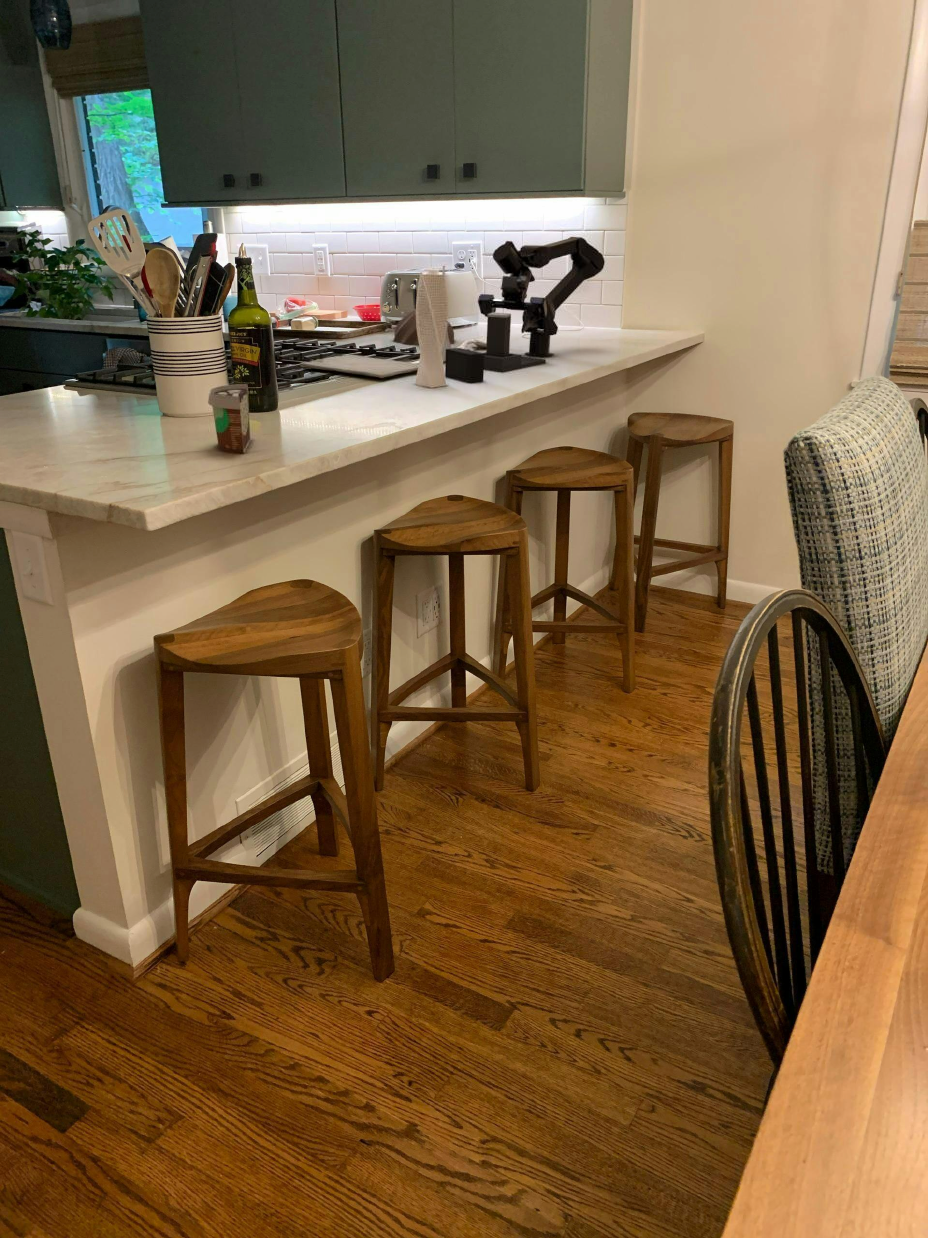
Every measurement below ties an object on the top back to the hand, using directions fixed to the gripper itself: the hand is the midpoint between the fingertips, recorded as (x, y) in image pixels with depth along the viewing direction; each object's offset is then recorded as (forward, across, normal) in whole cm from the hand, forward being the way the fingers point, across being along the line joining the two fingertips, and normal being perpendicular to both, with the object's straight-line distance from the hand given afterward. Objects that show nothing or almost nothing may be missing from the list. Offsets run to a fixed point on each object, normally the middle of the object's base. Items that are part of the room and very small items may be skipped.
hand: (505, 330), depth 254 cm
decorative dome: (-16, -35, +29) cm, 48 cm away
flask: (+8, -18, +5) cm, 20 cm away
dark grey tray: (+6, -1, +6) cm, 9 cm away
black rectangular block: (+25, -3, -12) cm, 28 cm away
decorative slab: (+25, -30, -13) cm, 41 cm away
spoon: (-7, -15, +20) cm, 26 cm away
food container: (+85, -21, -73) cm, 114 cm away
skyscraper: (+34, -8, -21) cm, 40 cm away
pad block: (+10, 0, +1) cm, 10 cm away
